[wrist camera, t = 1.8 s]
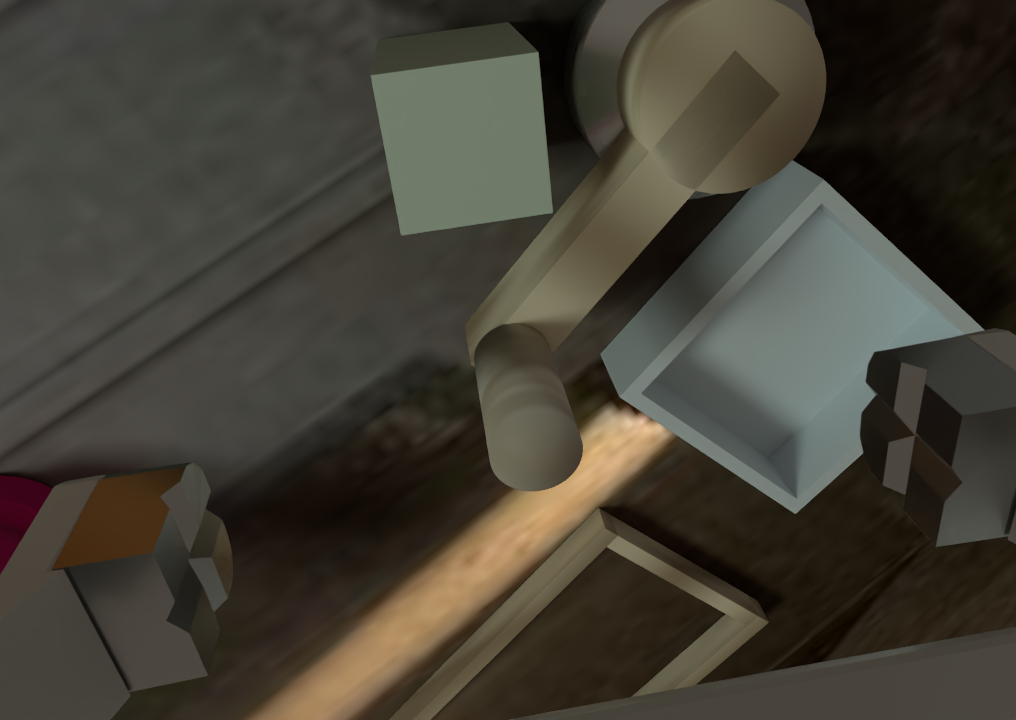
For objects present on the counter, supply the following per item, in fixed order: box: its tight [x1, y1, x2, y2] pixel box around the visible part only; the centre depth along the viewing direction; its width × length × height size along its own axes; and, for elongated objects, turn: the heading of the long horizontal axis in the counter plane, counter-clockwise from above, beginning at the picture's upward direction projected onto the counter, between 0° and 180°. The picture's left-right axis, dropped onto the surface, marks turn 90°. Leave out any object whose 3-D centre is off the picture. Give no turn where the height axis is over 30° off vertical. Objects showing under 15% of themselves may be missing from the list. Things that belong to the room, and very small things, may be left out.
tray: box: [600, 160, 984, 514], centre depth 33 cm, size 11×11×4 cm
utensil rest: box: [389, 508, 769, 720], centre depth 43 cm, size 12×23×2 cm, turn 142°
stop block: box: [371, 22, 553, 235], centre depth 25 cm, size 4×4×7 cm
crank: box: [465, 0, 826, 491], centre depth 24 cm, size 15×6×8 cm, turn 142°
